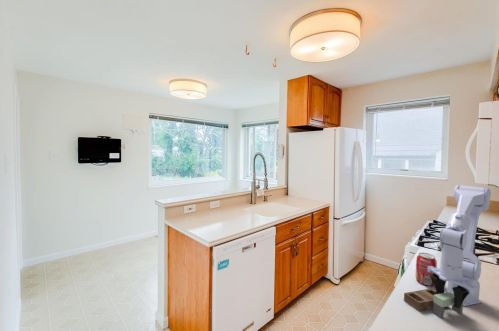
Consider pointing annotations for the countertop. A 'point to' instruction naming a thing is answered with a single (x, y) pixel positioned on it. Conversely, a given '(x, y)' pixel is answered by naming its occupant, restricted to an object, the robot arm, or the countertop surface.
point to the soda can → (425, 268)
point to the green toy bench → (445, 303)
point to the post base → (420, 299)
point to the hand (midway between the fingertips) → (448, 301)
